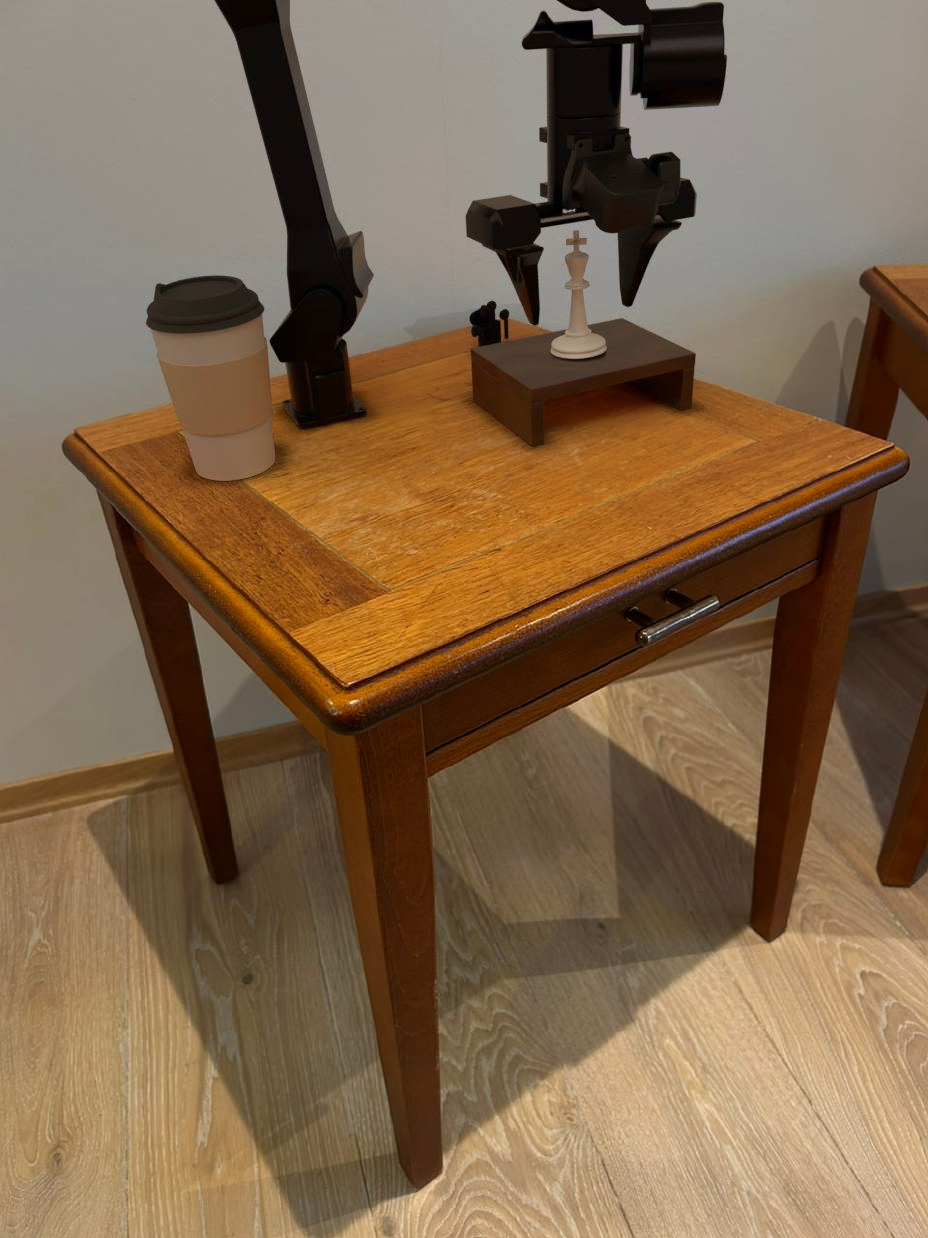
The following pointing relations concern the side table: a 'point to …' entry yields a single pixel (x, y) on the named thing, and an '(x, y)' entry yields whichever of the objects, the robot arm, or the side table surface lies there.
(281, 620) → the side table surface
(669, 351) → the shelf
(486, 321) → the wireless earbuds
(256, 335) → the coffee cup
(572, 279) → the chess piece
